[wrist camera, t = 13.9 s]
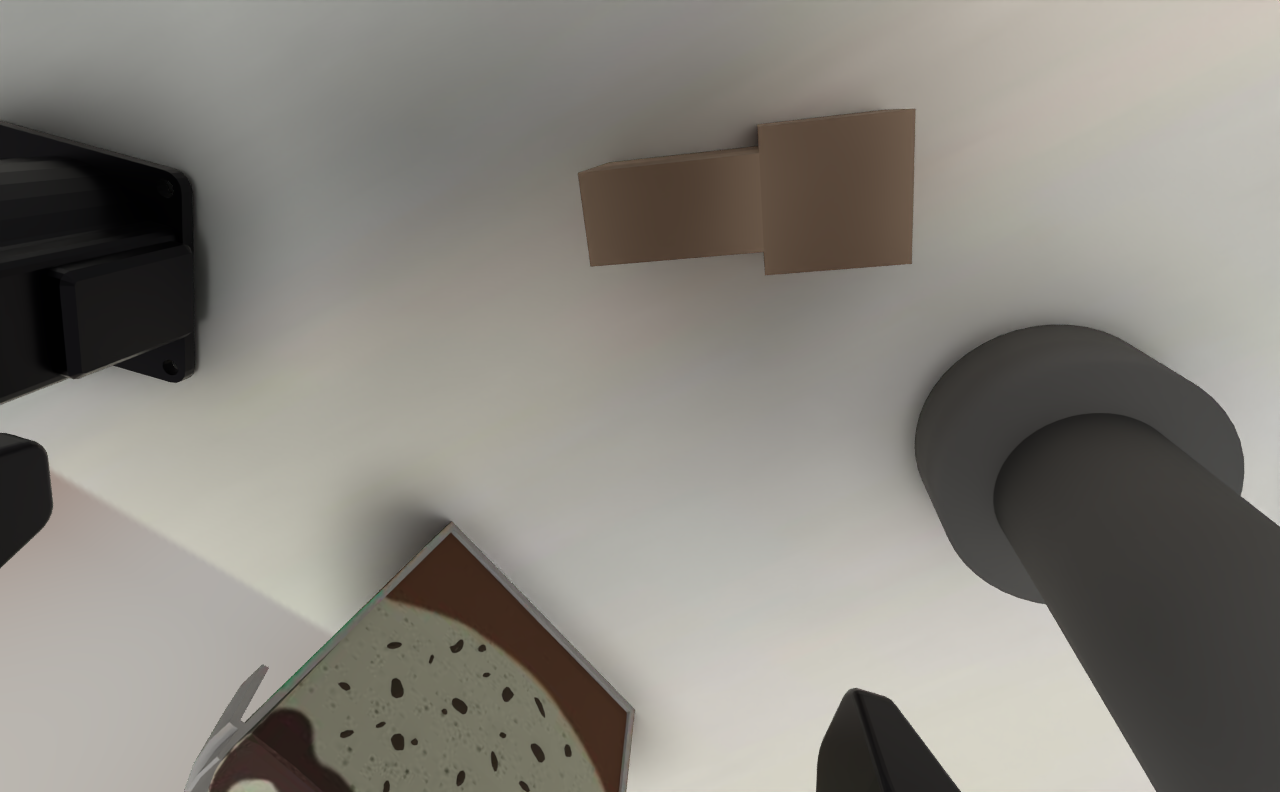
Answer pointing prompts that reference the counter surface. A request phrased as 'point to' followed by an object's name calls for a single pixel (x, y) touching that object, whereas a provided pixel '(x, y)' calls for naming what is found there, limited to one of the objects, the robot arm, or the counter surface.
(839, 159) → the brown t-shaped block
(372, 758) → the food container
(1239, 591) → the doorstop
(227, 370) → the counter surface
